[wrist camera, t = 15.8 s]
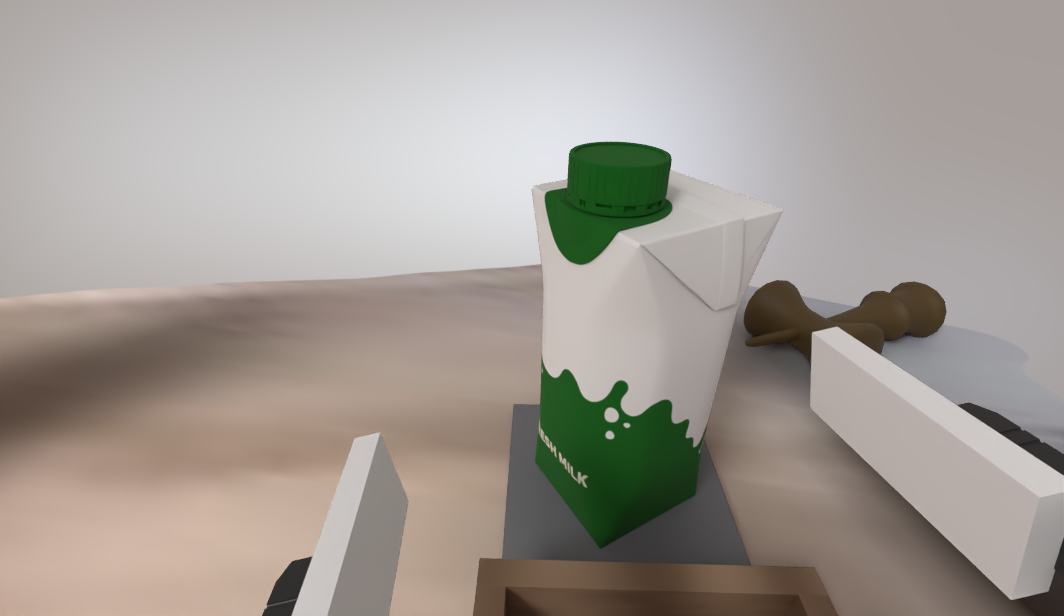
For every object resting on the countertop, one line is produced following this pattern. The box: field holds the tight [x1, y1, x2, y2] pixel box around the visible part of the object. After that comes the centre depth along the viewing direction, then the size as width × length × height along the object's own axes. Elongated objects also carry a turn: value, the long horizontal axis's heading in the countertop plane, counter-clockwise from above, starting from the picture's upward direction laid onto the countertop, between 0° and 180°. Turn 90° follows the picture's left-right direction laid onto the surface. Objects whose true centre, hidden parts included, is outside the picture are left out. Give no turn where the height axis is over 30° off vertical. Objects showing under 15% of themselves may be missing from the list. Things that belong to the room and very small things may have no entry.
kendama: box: [744, 280, 946, 363], centre depth 43 cm, size 6×10×20 cm
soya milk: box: [532, 142, 783, 549], centre depth 26 cm, size 9×9×20 cm
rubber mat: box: [502, 404, 751, 566], centre depth 31 cm, size 13×13×1 cm
